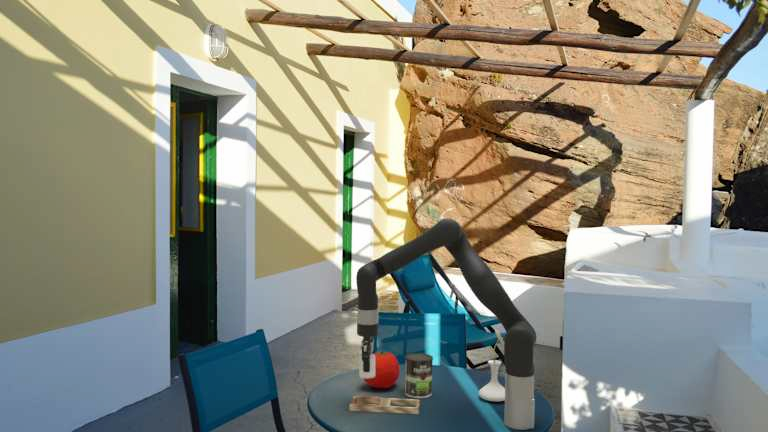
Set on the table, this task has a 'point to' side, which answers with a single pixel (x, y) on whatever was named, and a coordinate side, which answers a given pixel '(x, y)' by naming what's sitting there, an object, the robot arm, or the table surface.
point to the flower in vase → (494, 379)
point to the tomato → (384, 370)
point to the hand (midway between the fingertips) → (367, 369)
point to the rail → (384, 405)
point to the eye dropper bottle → (372, 367)
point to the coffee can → (418, 375)
